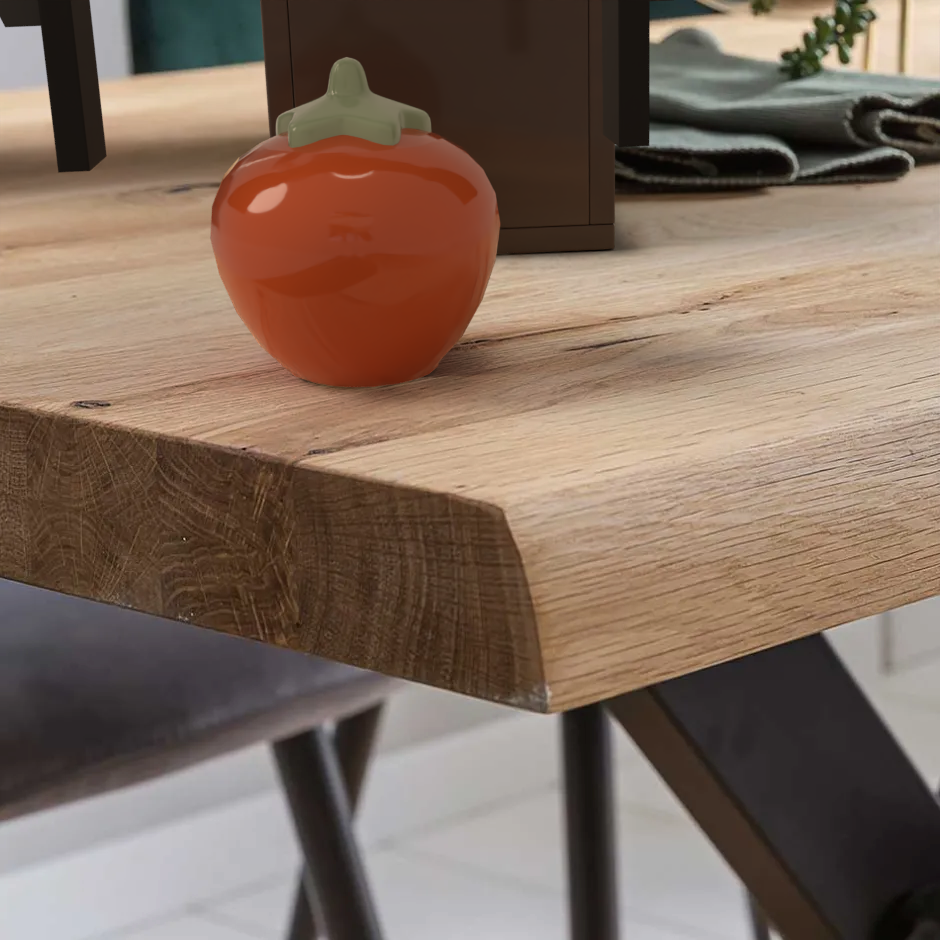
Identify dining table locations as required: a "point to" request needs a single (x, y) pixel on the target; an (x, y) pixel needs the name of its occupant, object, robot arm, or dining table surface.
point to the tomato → (355, 238)
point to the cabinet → (475, 95)
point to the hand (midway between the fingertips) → (356, 154)
